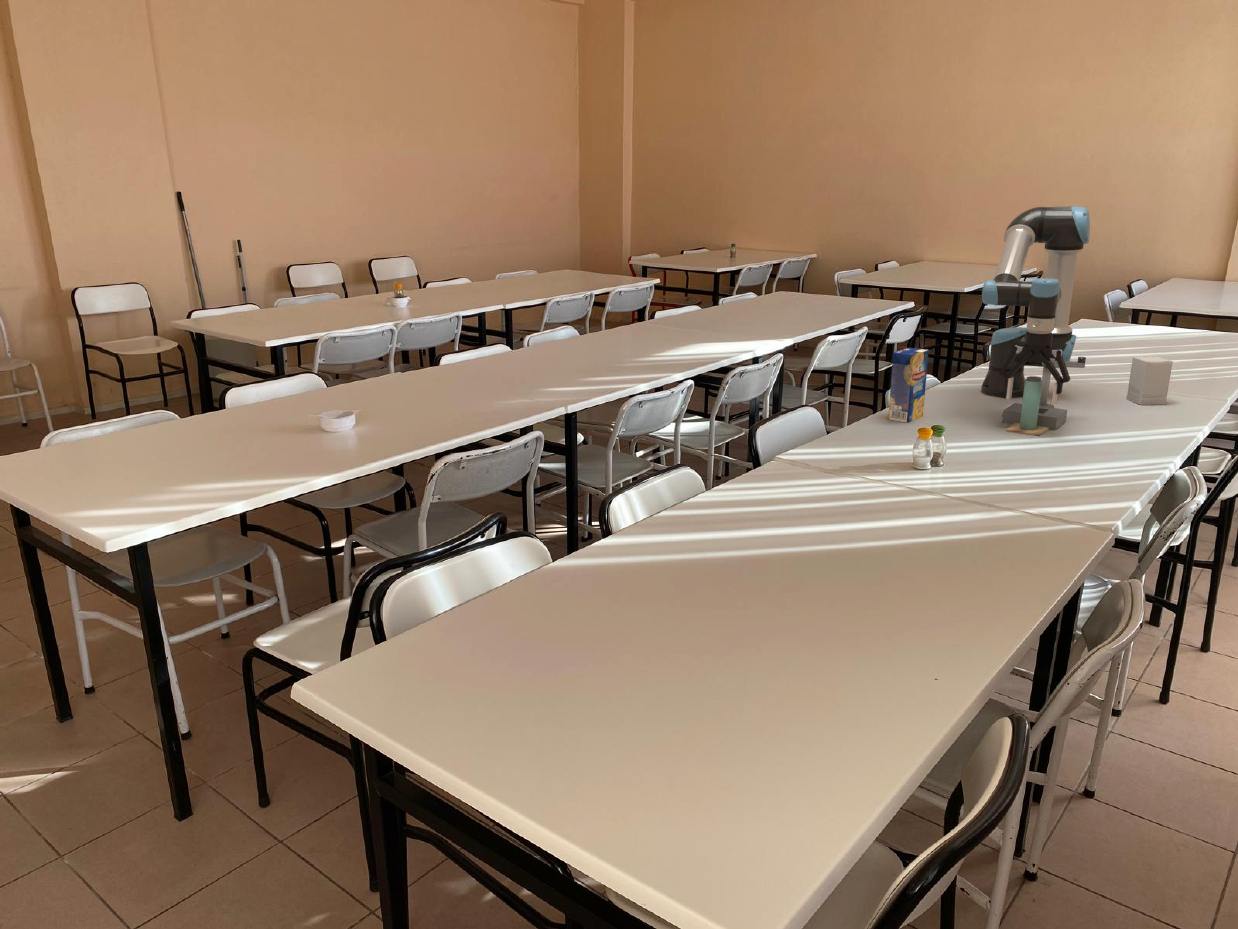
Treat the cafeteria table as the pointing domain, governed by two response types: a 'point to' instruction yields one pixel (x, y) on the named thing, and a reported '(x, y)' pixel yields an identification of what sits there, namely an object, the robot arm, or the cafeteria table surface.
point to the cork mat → (1017, 429)
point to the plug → (1030, 403)
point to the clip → (1070, 363)
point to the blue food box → (908, 384)
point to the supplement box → (1149, 380)
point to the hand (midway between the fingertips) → (1031, 401)
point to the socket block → (1046, 413)
